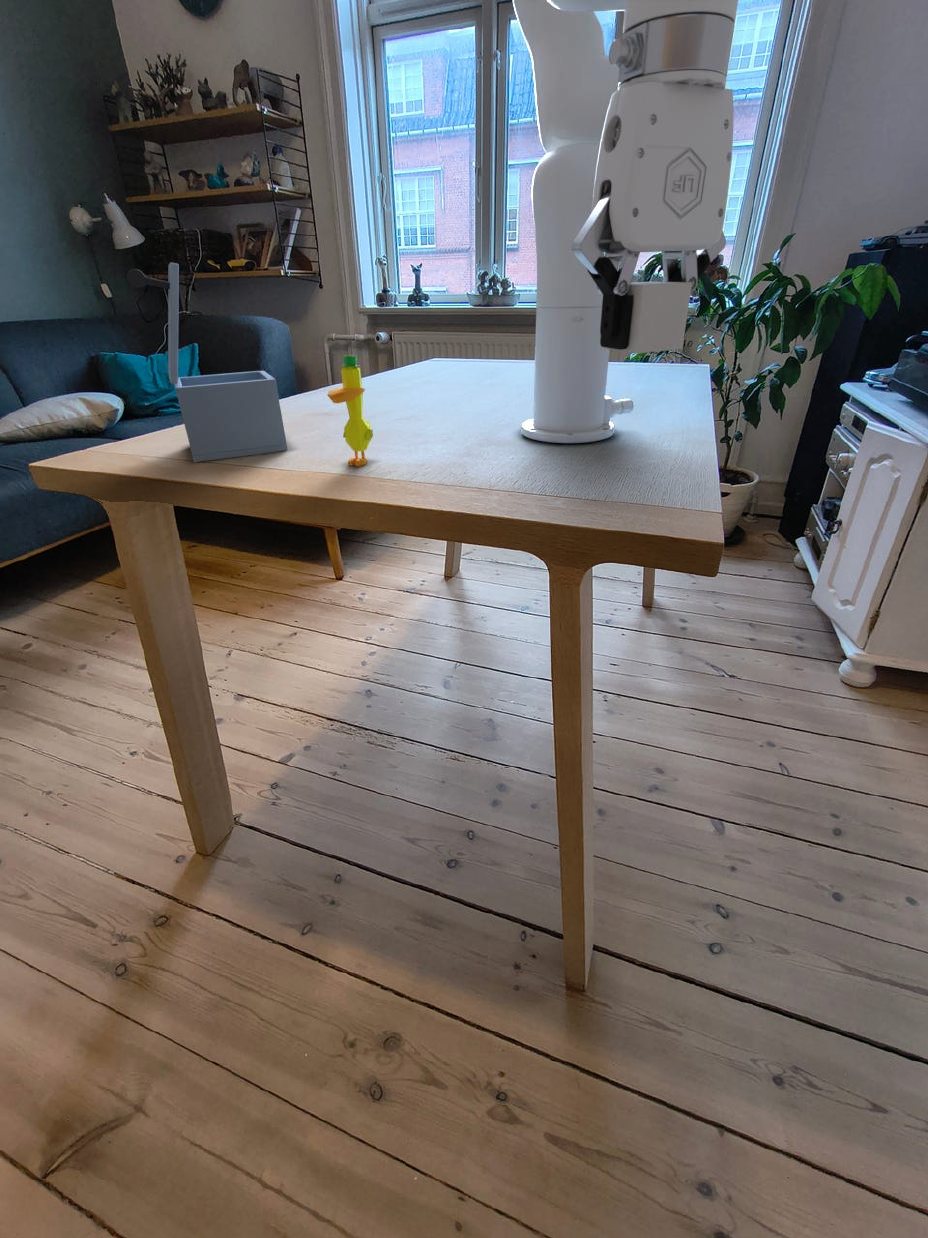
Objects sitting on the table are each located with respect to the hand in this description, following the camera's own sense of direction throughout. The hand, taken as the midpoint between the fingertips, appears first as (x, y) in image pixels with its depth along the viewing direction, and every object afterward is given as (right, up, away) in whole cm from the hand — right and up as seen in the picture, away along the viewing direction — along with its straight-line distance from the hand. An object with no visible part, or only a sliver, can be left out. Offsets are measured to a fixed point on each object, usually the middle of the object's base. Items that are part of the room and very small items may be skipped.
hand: (640, 342), depth 52 cm
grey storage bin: (-46, -1, +28) cm, 54 cm away
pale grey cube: (0, 0, 0) cm, 0 cm away
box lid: (-50, +11, +19) cm, 55 cm away
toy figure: (-28, -6, +20) cm, 35 cm away
